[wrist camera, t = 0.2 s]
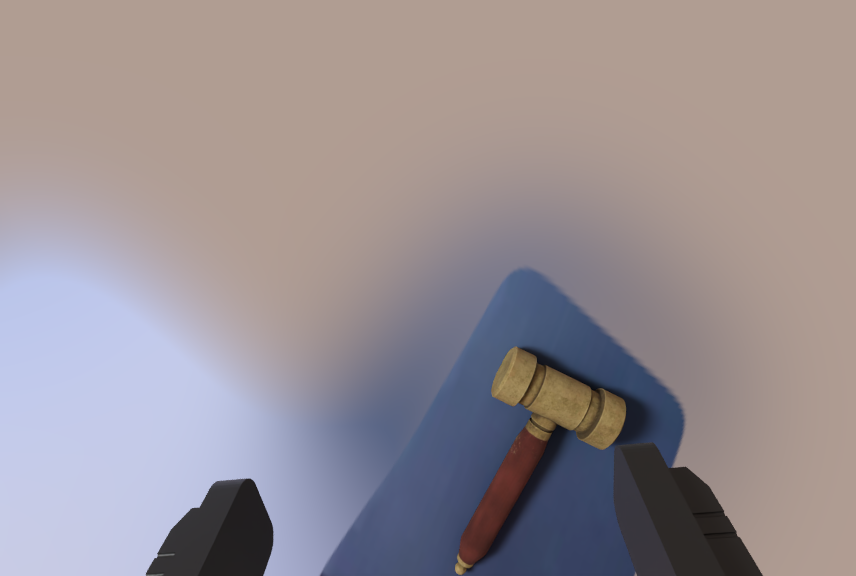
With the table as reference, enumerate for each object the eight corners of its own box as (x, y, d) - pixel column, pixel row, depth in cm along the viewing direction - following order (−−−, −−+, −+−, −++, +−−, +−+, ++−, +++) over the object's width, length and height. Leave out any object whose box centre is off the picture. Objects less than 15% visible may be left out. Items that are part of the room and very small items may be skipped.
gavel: (510, 618, 41) (404, 565, 42) (507, 578, 46) (411, 530, 46) (634, 412, 38) (517, 354, 38) (617, 390, 42) (513, 339, 42)
